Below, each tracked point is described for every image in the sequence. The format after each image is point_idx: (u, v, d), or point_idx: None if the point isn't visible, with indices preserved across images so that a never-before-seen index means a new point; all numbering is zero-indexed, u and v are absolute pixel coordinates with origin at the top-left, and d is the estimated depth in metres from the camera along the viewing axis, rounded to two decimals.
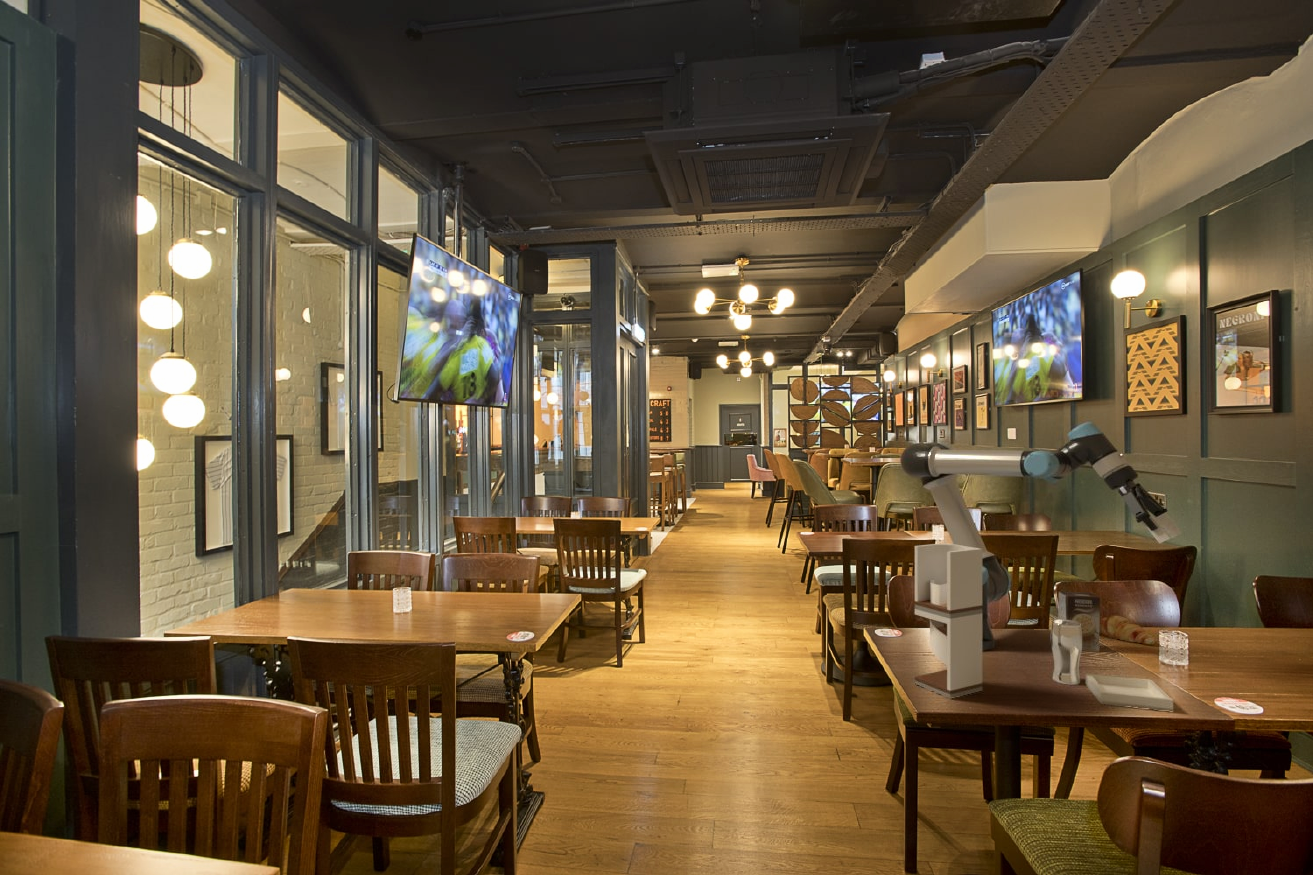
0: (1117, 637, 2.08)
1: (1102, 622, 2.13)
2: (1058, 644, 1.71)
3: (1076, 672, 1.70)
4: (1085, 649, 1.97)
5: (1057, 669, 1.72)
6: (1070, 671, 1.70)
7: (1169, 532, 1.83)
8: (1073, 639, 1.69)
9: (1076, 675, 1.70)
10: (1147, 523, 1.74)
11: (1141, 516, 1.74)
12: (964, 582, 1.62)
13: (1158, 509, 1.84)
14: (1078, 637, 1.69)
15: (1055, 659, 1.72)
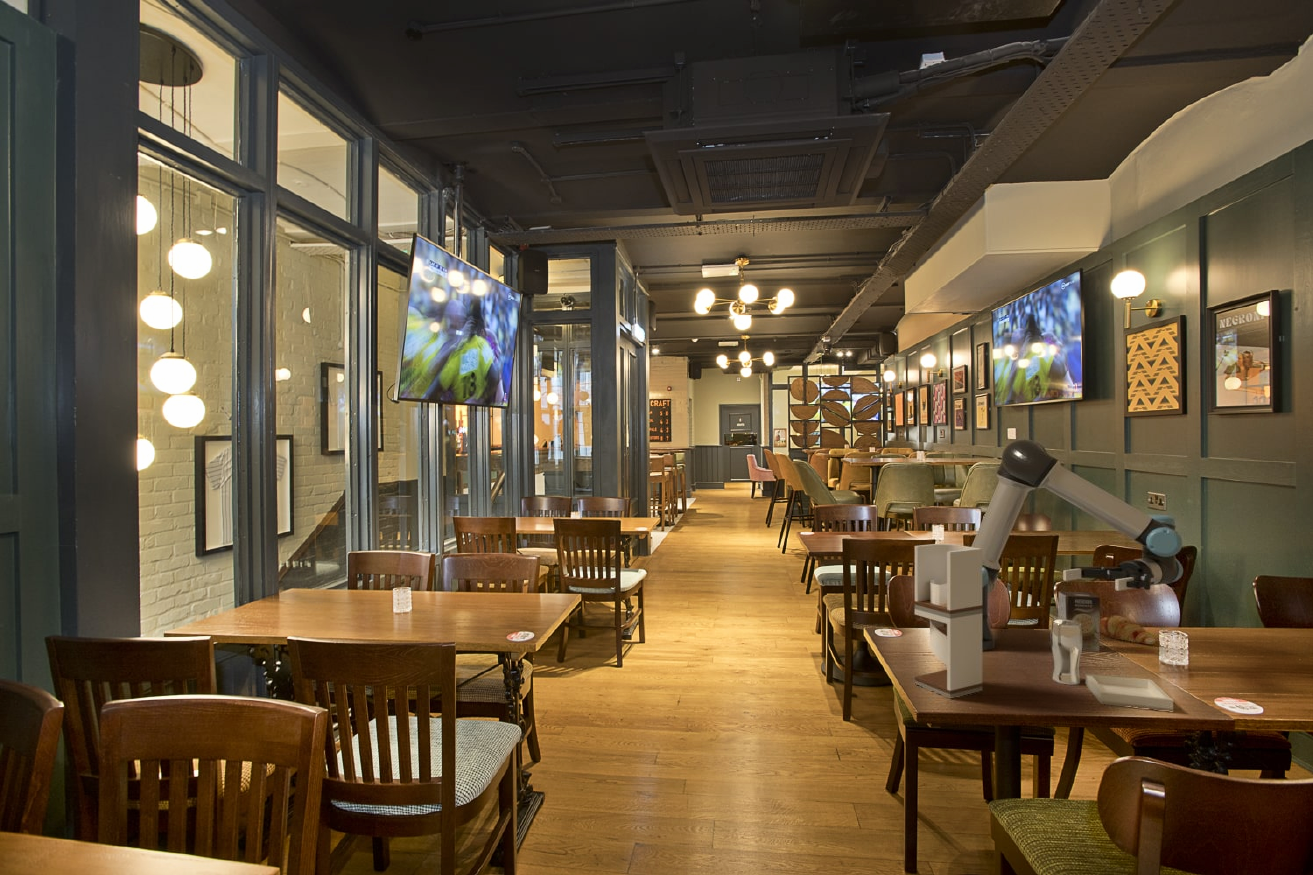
0: (1117, 637, 2.08)
1: (1102, 622, 2.13)
2: (1058, 644, 1.71)
3: (1076, 672, 1.70)
4: (1085, 649, 1.97)
5: (1057, 669, 1.72)
6: (1070, 671, 1.70)
7: (1069, 572, 1.83)
8: (1073, 639, 1.69)
9: (1076, 675, 1.70)
10: (1136, 583, 1.71)
11: (1148, 585, 1.71)
12: (964, 582, 1.62)
13: (1085, 576, 1.86)
14: (1078, 637, 1.69)
15: (1055, 659, 1.72)
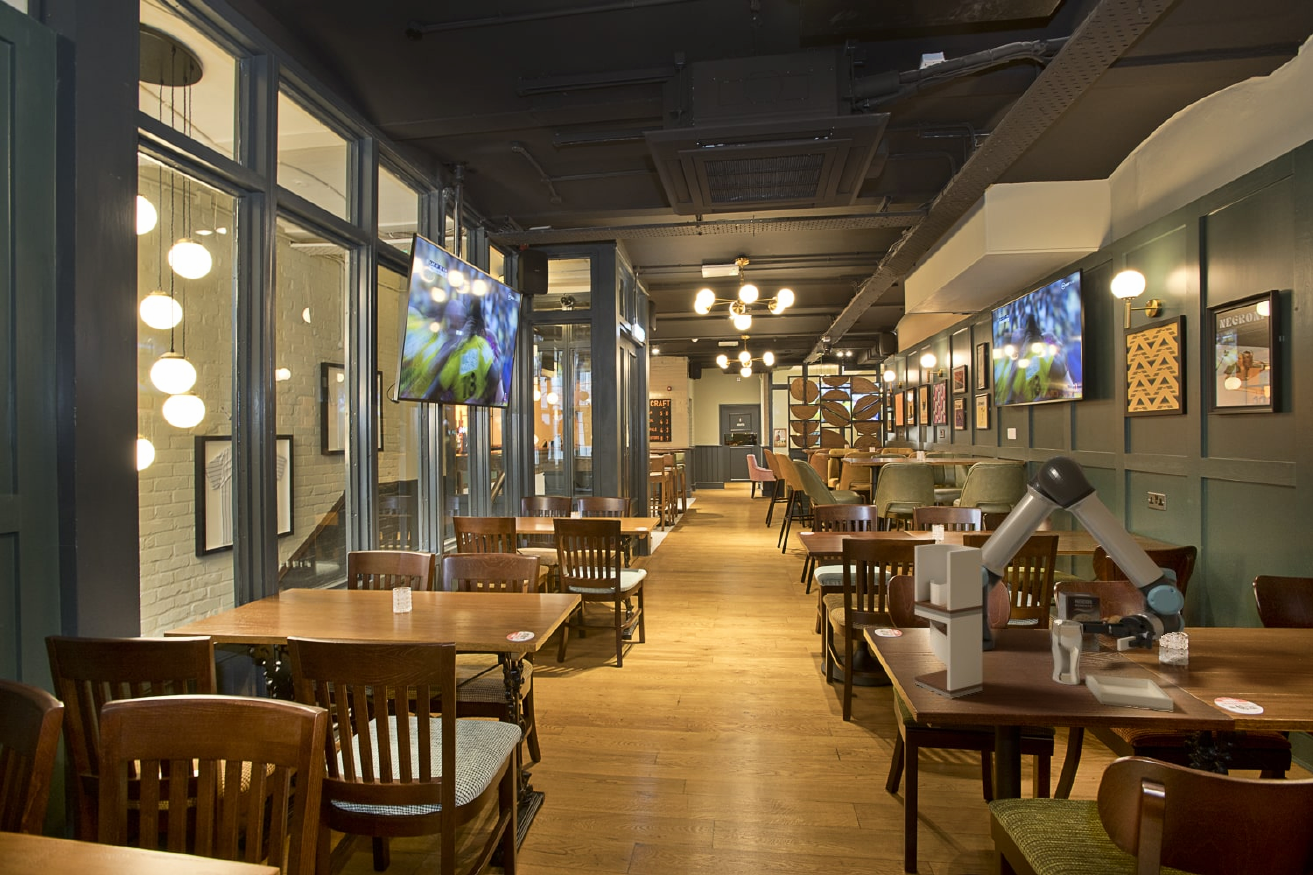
0: None
1: None
2: (1058, 644, 1.71)
3: (1076, 672, 1.70)
4: (1085, 649, 1.97)
5: (1057, 669, 1.72)
6: (1070, 671, 1.70)
7: None
8: (1073, 639, 1.69)
9: (1076, 675, 1.70)
10: (1138, 642, 1.71)
11: (1150, 644, 1.70)
12: (964, 582, 1.62)
13: (1086, 631, 1.85)
14: (1078, 637, 1.69)
15: (1055, 659, 1.72)
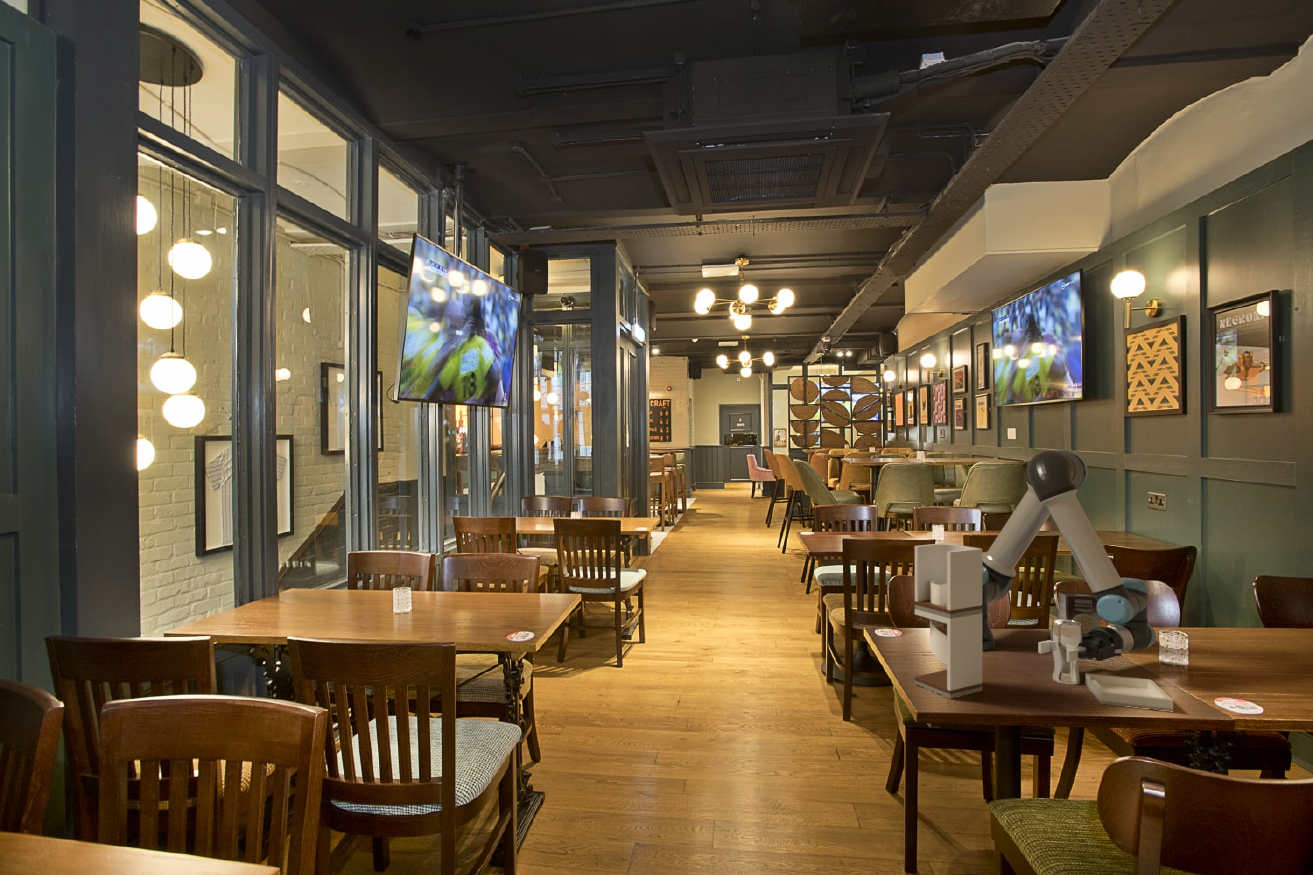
0: None
1: (1103, 622, 2.13)
2: (1058, 644, 1.71)
3: (1076, 672, 1.70)
4: None
5: (1057, 669, 1.72)
6: (1070, 671, 1.70)
7: (1045, 644, 1.74)
8: (1073, 639, 1.69)
9: (1076, 675, 1.70)
10: (1087, 653, 1.68)
11: (1098, 656, 1.67)
12: (964, 582, 1.62)
13: None
14: (1078, 637, 1.69)
15: (1055, 659, 1.72)
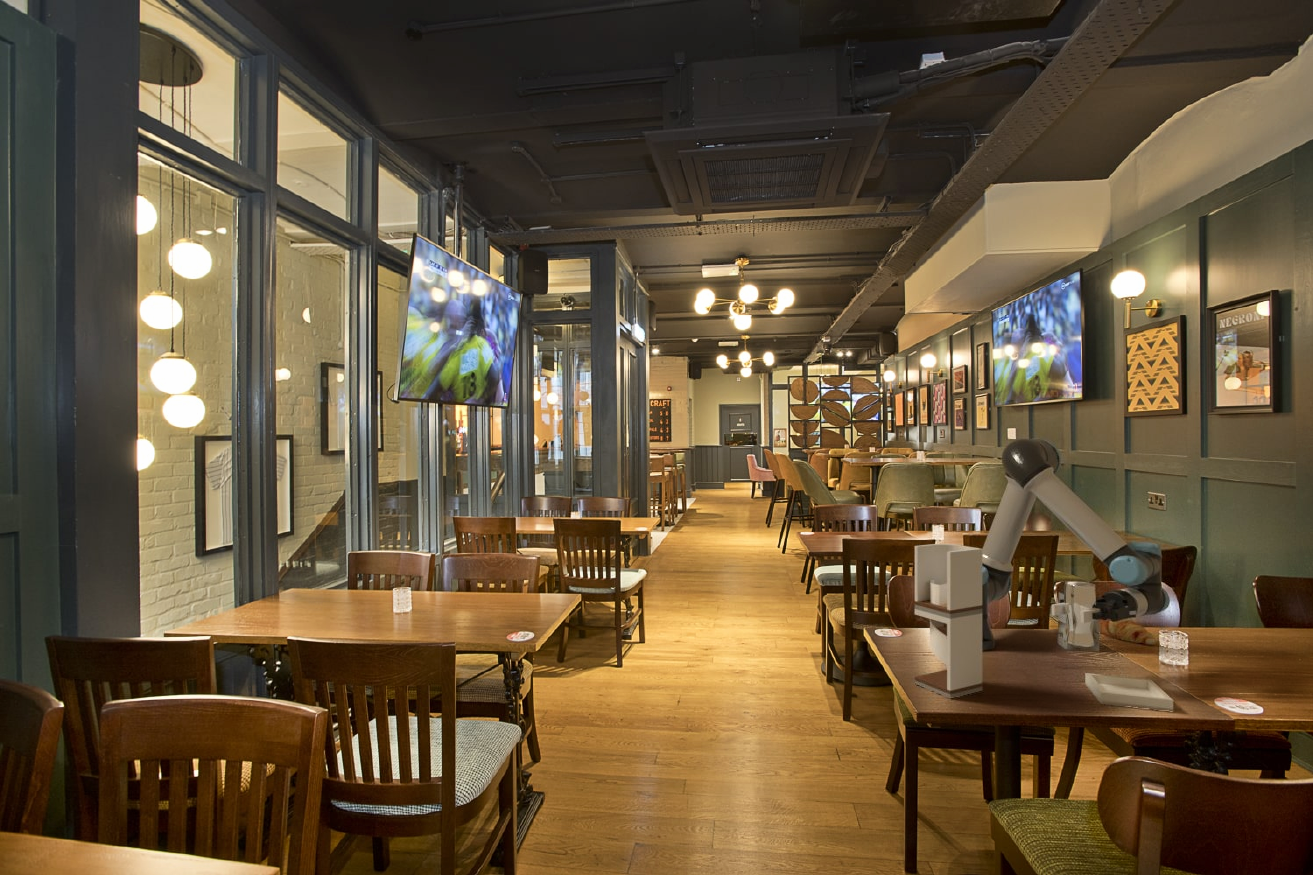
0: (1118, 637, 2.07)
1: (1104, 622, 2.13)
2: (1072, 606, 1.68)
3: (1090, 634, 1.67)
4: (1085, 649, 1.97)
5: (1071, 631, 1.69)
6: (1084, 632, 1.67)
7: (1058, 606, 1.71)
8: (1087, 600, 1.66)
9: (1090, 637, 1.67)
10: (1102, 614, 1.65)
11: (1113, 616, 1.65)
12: (964, 582, 1.62)
13: None
14: (1092, 598, 1.67)
15: (1069, 621, 1.70)
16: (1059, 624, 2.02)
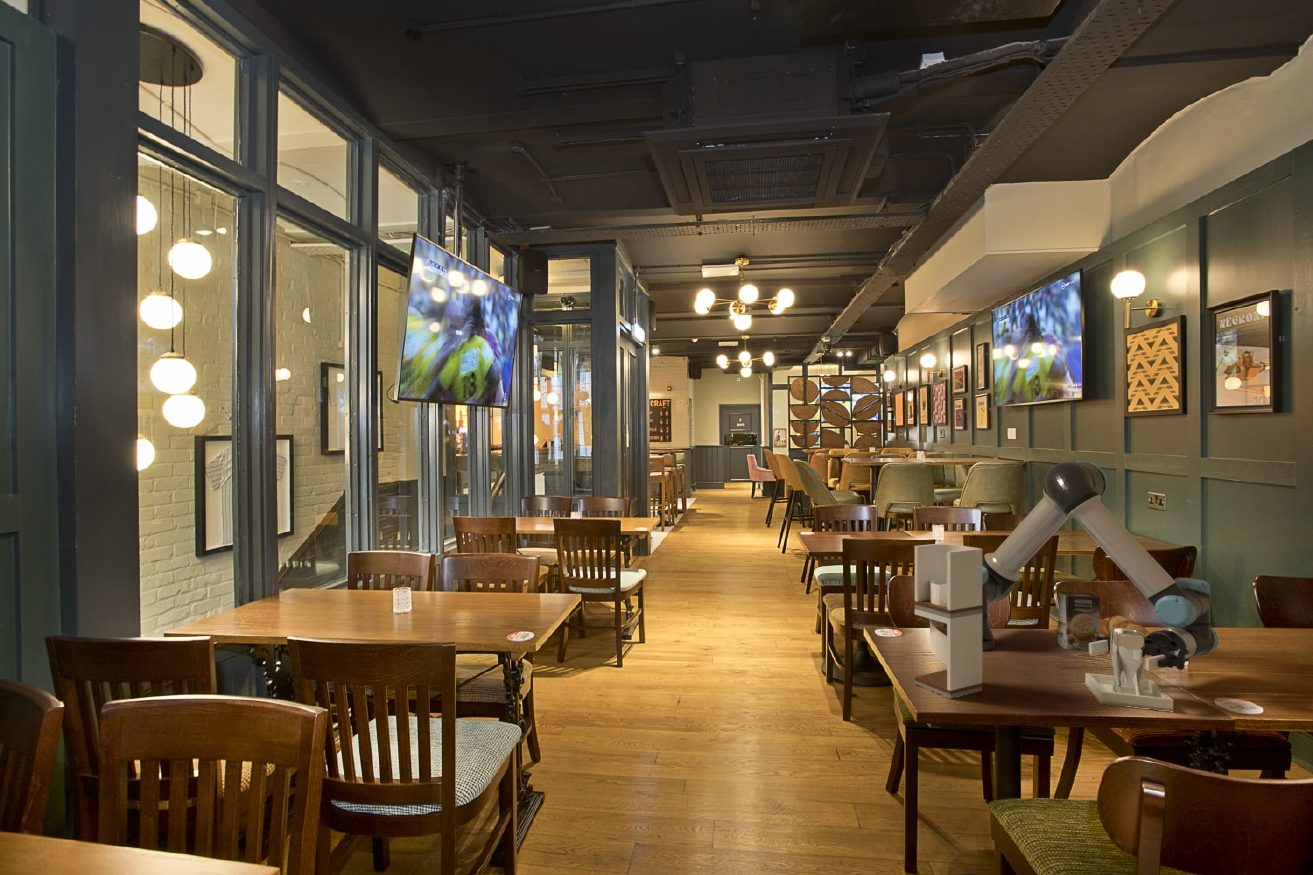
0: None
1: (1104, 622, 2.13)
2: (1119, 655, 1.59)
3: (1139, 685, 1.59)
4: (1085, 649, 1.97)
5: (1118, 682, 1.60)
6: (1132, 683, 1.59)
7: (1096, 644, 1.66)
8: (1136, 650, 1.58)
9: (1139, 688, 1.58)
10: (1168, 662, 1.55)
11: (1181, 664, 1.54)
12: (964, 582, 1.62)
13: None
14: (1141, 648, 1.58)
15: (1115, 671, 1.61)
16: (1059, 624, 2.02)
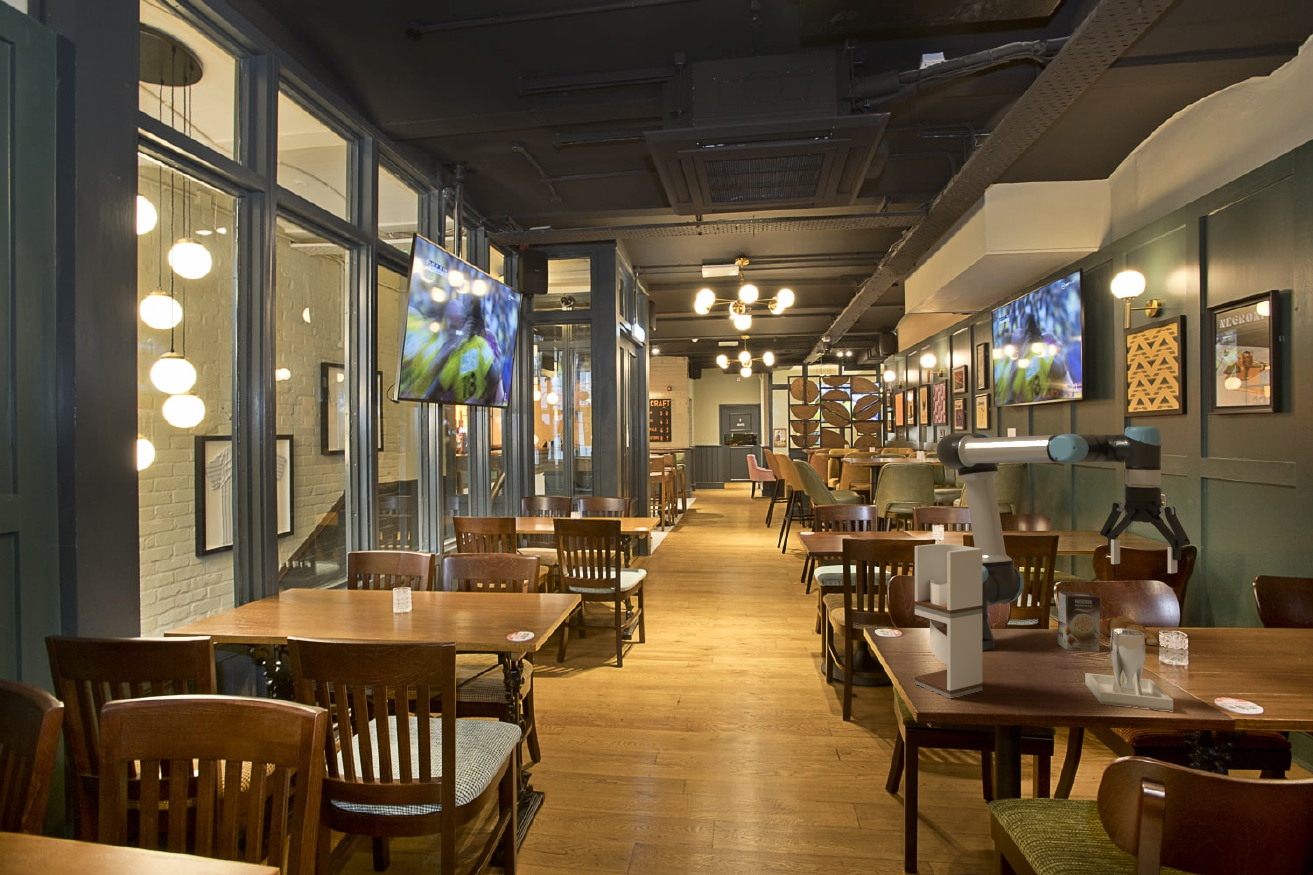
0: None
1: (1105, 622, 2.13)
2: (1119, 655, 1.59)
3: (1139, 685, 1.59)
4: (1085, 649, 1.97)
5: (1118, 682, 1.60)
6: (1132, 684, 1.59)
7: (1115, 558, 1.79)
8: (1136, 650, 1.58)
9: (1139, 688, 1.58)
10: (1178, 551, 1.66)
11: (1187, 544, 1.65)
12: (964, 582, 1.62)
13: (1119, 534, 1.80)
14: (1141, 648, 1.58)
15: (1115, 671, 1.61)
16: (1059, 624, 2.02)
